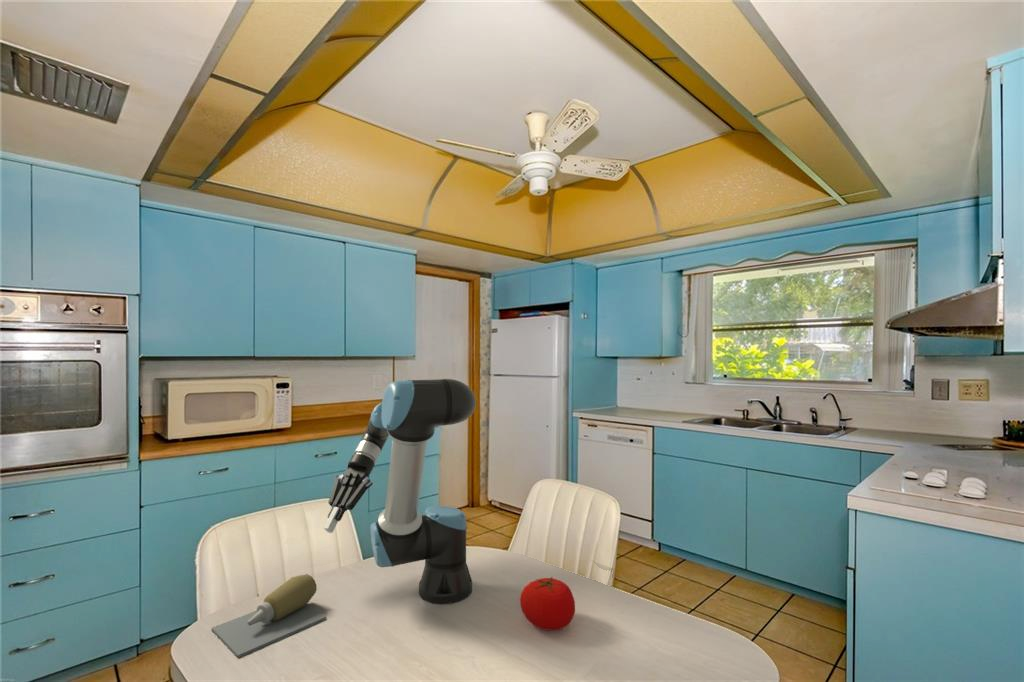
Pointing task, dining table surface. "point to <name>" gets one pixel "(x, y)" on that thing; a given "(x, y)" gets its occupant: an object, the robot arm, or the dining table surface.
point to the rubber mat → (263, 630)
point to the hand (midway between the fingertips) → (327, 530)
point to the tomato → (548, 603)
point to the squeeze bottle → (285, 599)
